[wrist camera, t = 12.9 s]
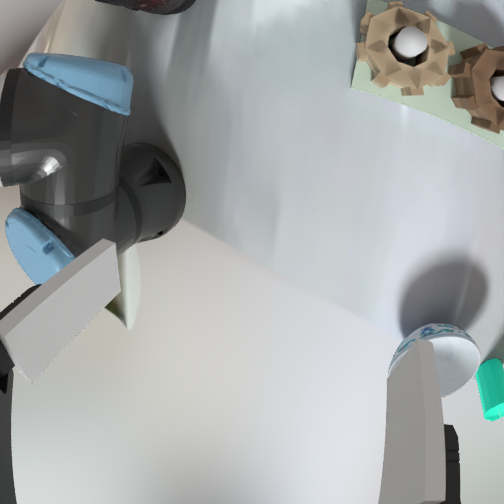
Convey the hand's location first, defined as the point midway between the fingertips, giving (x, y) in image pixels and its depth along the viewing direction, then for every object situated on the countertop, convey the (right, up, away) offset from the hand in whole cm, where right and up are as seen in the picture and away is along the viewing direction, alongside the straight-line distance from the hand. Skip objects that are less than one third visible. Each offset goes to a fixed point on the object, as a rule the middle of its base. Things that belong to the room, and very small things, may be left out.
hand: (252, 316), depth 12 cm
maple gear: (+16, +24, +13) cm, 32 cm away
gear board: (+22, +23, +13) cm, 35 cm away
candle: (+45, -20, +30) cm, 58 cm away
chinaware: (+29, -11, +31) cm, 44 cm away
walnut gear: (+26, +21, +11) cm, 36 cm away
